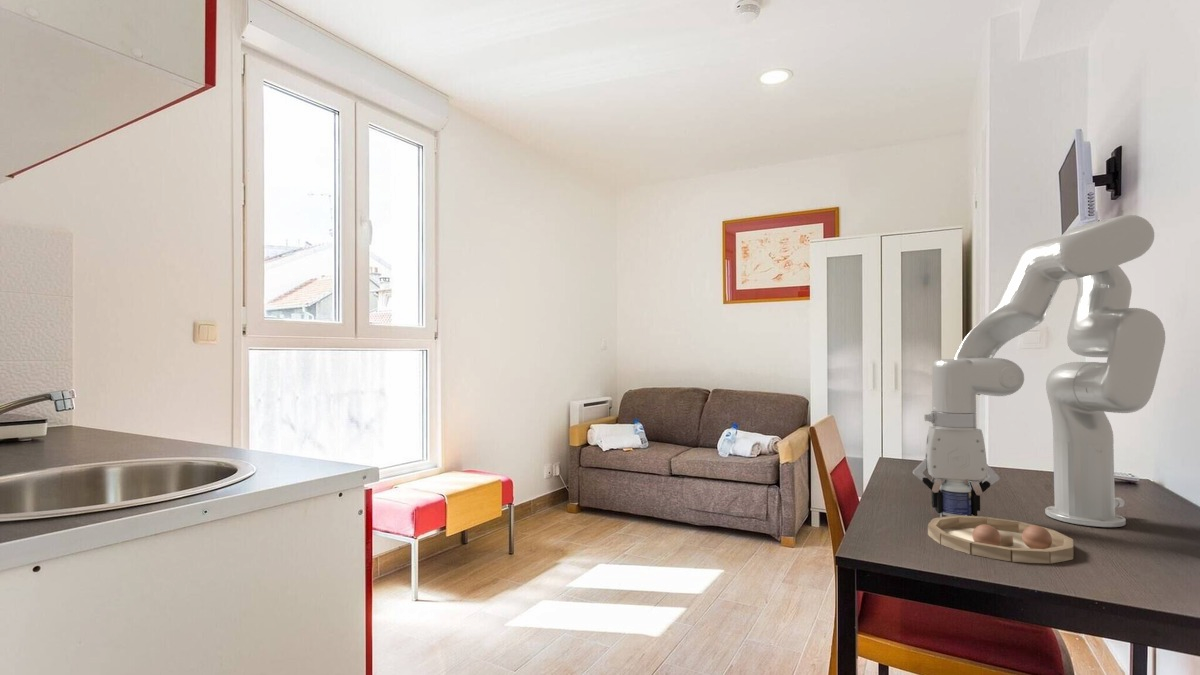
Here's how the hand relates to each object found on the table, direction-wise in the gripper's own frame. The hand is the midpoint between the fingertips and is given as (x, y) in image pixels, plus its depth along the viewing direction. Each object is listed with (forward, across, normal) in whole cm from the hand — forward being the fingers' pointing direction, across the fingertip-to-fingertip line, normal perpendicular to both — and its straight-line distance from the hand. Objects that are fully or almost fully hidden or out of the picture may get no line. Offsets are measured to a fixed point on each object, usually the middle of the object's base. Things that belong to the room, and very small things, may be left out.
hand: (955, 512), depth 119 cm
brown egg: (+1, 0, -21) cm, 21 cm away
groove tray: (+2, +3, -16) cm, 16 cm away
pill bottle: (+2, 0, 0) cm, 2 cm away
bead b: (+1, +8, -19) cm, 20 cm away
